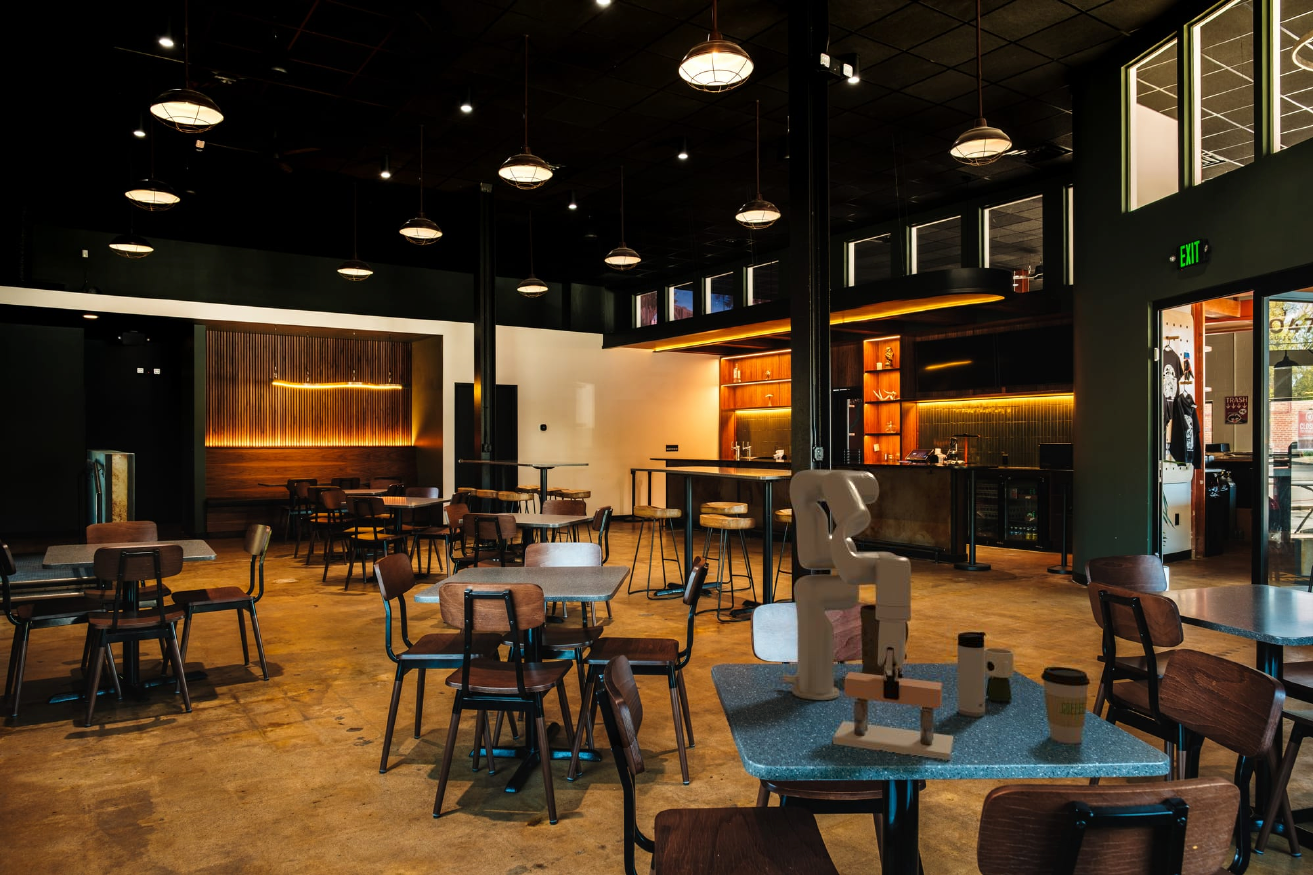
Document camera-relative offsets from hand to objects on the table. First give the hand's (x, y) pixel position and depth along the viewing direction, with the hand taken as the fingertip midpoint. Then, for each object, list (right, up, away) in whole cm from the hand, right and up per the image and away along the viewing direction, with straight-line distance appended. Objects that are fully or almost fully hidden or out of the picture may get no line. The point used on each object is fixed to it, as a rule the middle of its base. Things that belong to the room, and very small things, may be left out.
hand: (893, 694), depth 174 cm
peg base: (0, -11, -1) cm, 11 cm away
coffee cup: (+40, -11, +4) cm, 42 cm away
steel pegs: (0, -9, 0) cm, 9 cm away
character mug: (+38, -13, +33) cm, 52 cm away
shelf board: (0, -1, 0) cm, 1 cm away
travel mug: (+26, -12, +22) cm, 36 cm away
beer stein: (+15, -14, +59) cm, 63 cm away
